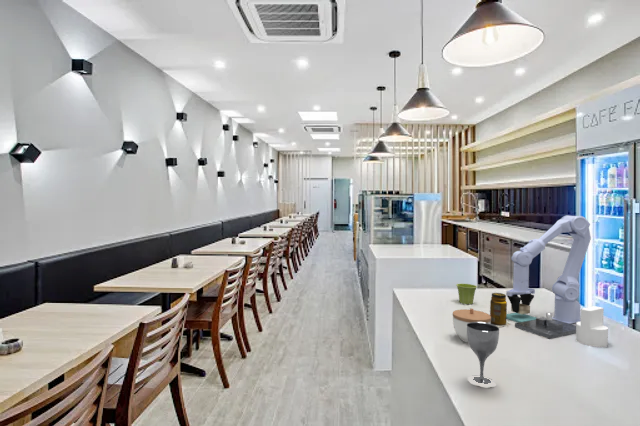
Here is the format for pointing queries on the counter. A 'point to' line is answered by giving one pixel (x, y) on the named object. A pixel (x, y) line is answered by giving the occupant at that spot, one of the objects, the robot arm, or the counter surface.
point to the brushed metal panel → (547, 327)
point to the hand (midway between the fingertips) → (520, 311)
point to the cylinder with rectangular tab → (592, 328)
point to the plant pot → (466, 293)
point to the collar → (523, 309)
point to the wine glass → (482, 343)
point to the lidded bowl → (467, 320)
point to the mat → (520, 317)
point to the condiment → (498, 309)
